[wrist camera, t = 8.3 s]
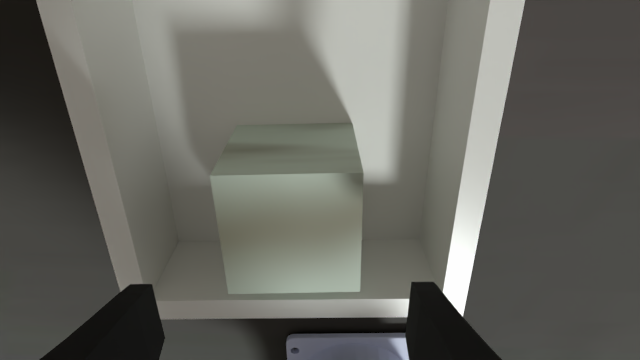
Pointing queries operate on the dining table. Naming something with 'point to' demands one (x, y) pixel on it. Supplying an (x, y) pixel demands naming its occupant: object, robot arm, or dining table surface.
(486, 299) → the dining table surface
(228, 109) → the box
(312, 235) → the sage cube
